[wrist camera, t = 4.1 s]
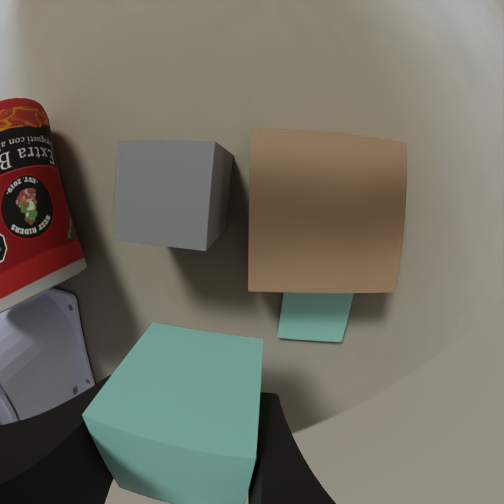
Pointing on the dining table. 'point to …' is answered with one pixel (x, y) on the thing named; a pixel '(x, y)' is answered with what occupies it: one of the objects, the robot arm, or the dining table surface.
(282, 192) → the walnut base
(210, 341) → the teal block
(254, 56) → the dining table surface
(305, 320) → the swatch
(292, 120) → the dining table surface
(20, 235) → the canned food
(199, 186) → the grey block
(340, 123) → the dining table surface
